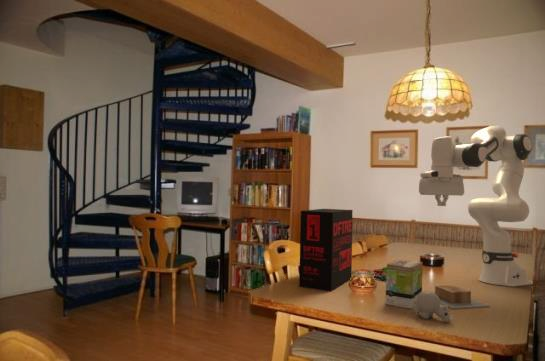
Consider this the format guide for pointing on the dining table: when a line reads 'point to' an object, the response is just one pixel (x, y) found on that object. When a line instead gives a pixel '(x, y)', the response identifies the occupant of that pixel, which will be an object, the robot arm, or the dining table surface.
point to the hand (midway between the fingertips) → (441, 206)
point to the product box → (325, 248)
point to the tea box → (403, 283)
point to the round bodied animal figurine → (431, 306)
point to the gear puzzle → (380, 274)
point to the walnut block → (453, 294)
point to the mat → (464, 304)
